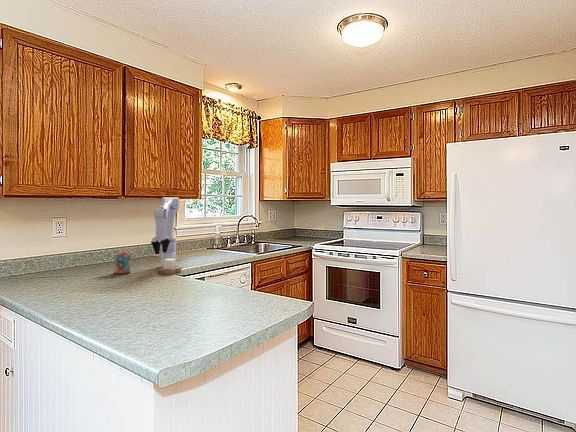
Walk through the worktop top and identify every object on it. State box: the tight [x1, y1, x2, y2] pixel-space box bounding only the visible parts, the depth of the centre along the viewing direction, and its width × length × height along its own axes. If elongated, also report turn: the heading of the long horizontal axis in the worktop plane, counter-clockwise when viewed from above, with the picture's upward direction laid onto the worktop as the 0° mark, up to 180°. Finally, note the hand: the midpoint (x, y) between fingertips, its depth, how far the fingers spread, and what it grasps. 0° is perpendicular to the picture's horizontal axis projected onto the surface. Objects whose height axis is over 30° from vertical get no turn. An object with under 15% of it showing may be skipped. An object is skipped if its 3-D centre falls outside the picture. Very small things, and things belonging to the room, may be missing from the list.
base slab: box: [157, 266, 182, 276], centre depth 205 cm, size 9×9×2 cm
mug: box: [112, 252, 137, 275], centre depth 202 cm, size 12×9×11 cm
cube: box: [162, 258, 177, 269], centre depth 205 cm, size 5×5×5 cm
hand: (160, 253), depth 208 cm, fingers open, 7 cm apart
